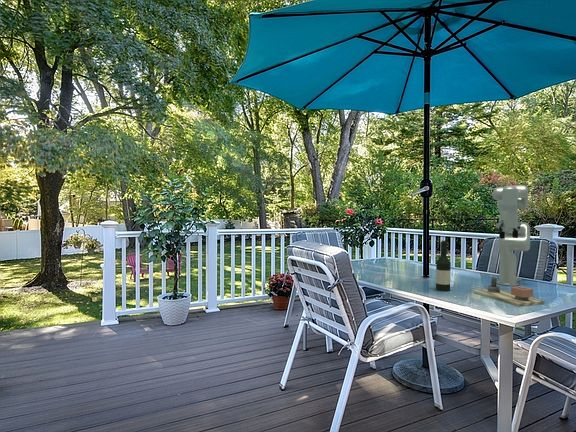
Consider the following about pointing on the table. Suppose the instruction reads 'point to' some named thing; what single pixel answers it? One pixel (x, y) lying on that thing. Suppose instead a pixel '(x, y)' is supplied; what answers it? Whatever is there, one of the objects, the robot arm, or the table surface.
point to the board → (506, 295)
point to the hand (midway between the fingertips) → (508, 238)
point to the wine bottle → (443, 270)
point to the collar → (522, 292)
